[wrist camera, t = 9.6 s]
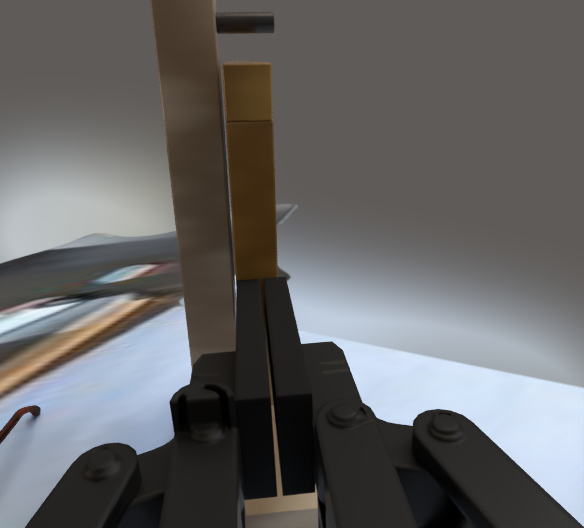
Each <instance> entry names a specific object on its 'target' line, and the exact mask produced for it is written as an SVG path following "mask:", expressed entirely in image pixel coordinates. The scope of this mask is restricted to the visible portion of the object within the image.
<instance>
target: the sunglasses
mask: <svg viewBox="0 0 584 528" xmlns="http://www.w3.org/2000/svg"><path fill="white" fill-rule="evenodd" d="M28 412H30V413H31V414H32V415H34V416H38V415H40V407H38V406H28V407H24V408H21V409H19V410H18V411H17V412H16V413H15V414H14V415H13V416H12V418H11V419H10V420H9V422H8V423H7V424H6V425H5V426H4V428H3V429H2V430H1V431H0V444H1V442H2V441H3V440H4V439H5V438H6V436H7V435H8V434H9V433H10V431H11V430H12V429H13V427H14V426H15V425H16V424H17V422H18V421H19V420H20V418H21V417H22V416H23V415H24V414H26V413H28Z"/></svg>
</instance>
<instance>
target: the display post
mask: <svg viewBox="0 0 584 528" xmlns="http://www.w3.org/2000/svg"><path fill="white" fill-rule="evenodd" d="M150 3H151V11H152V20H153V29H154V38H155V47H156V55H157V64H158V73H159V82H160V90H161V100H162V108H163V117H164V126H165V134H166V144H167V153H168V161H169V170H170V179H171V187H172V197H173V205H174V214H175V223H176V232H177V241H178V250H179V259H180V268H181V276H182V285H183V294H184V303H185V312H186V321H187V329H188V338H189V347H190V356H191V365H192V369H193V364H194V363H195V362H196V361H197V360H198V358H199V357H200V356H201V355H202V354H209V353H220V352H232V351H235V350H236V293H235V278H234V263H233V249H232V234H231V219H230V205H229V190H228V175H227V160H226V145H225V131H224V117H223V102H222V86H221V72H220V57H219V43H218V34H226V33H227V34H229V33H230V34H233V33H234V34H236V33H273V32H274V13H273V12H222V13H221V12H220V13H218V12H217V13H216V0H150ZM271 409H272V424H273V438H274V453H275V467H276V482H277V496H278V497H270V498H261V499H252V500H244V503H245V513H246V528H318V499H317V490H316V484H315V493H306V494H297V495H288V496H283V493H282V483H281V473H280V463H279V453H278V444H277V434H276V424H275V414H274V405H271Z"/></svg>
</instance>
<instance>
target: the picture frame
mask: <svg viewBox="0 0 584 528" xmlns="http://www.w3.org/2000/svg"><path fill="white" fill-rule="evenodd" d="M222 74H223V87H224V88H223V89H224V104H225V119H226V133H227V149H228V164H229V178H230V194H231V208H232V209H231V210H232V225H233V240H234V255H235V270H236V285H237V280H249V279H260V288H261V299H262V309H263V320H264V331H265V342H266V352H267V363H268V374H269V385H270V395H271V405H274V404H273V394H272V384H271V375H270V365H269V355H268V343H267V328H266V314H265V299H264V285H263V278H275V277H278V266H277V235H276V201H275V168H274V138H273V137H274V136H273V121H272V119H273V105H272V74H271V64H270V63H267V62H258V61H228V62H226V63H225V64H223V65H222Z"/></svg>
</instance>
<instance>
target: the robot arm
mask: <svg viewBox="0 0 584 528" xmlns="http://www.w3.org/2000/svg"><path fill="white" fill-rule="evenodd" d="M263 285H264V299H265V314H266V328H267V343H268V355H269V365H270V375H271V384H272V394H273V404H274V414H275V424H276V434H277V444H278V453H279V463H280V473H281V483H282V493H283V496H288V495H297V494H306V493H315V484H316V490H317V499H318V528H584V527H583V526H582V525H581V524H580V523H579V522H578V521H577V520H576V519H575V518H574V517H573V516H572V515H570V514H569V513H568V512H567V511H566V510H565V509H564V508H563V507H562V506H561V505H560V504H559V503H558V502H557V501H556V500H555V499H553V498H552V497H551V496H550V495H549V494H548V493H547V492H546V491H545V490H544V489H543V488H542V487H541V486H540V485H539V484H538V483H537V482H535V481H534V480H533V479H532V478H531V477H530V476H529V475H528V474H527V473H526V472H525V471H524V470H523V469H522V468H521V467H520V466H519V465H517V464H516V463H515V462H514V461H513V460H512V459H511V458H510V457H509V456H508V455H507V454H506V453H505V452H504V451H503V450H502V449H501V448H499V447H498V446H497V445H496V444H495V443H494V442H493V441H492V440H491V439H490V438H489V437H488V436H487V435H486V434H485V433H484V432H483V431H481V430H480V429H479V428H478V427H477V426H476V425H475V424H474V423H473V422H472V421H470V420H469V419H468V418H466V417H465V416H463V415H461V414H458V413H456V412H453V411H449V410H441V409H435V410H427V411H425V412H423V413H421V414H419V415H418V416H417V417H416V418H415V420H414V421H413V426H408V425H401V424H394V423H389V422H386V421H383V420H380V419H378V418H376V416H375V414H374V412H373V411H372V410H371V408H370V407H369V406H367V405H365V404H364V403H362V400H361V398H360V395H359V392H358V390H357V387H356V384H355V382H354V379H353V376H352V374H351V372H350V368H349V366H348V363H347V360H346V358H345V355H344V352H343V350H342V349H341V348H339V347H338V346H337V345H336V344H334V343H333V342H320V343H309V344H301V342H300V338H299V333H298V329H297V324H296V320H295V316H294V311H293V307H292V302H291V298H290V294H289V289H288V285H287V280H286V277H275V278H263ZM170 408H171V414H172V421H173V427H174V433H175V435H174V438H173V439H172V440H171V441H170V442H168V443H166V444H165V445H163V446H161V447H159V448H156V449H154V450H151V451H148V452H145V453H142V454H139V455H137V454H136V451H135V450H134V449H133V448H132V447H130V446H129V445H126V444H122V443H109V444H104V445H100V446H97V447H94V448H92V449H90V450H89V451H87V452H85V453H83V454H82V455H80V456H79V457H78V458H77V459H76V460H75V461H74V462H73V463H72V465H71V466H70V467H69V469H68V470H67V471H66V473H65V474H64V475H63V477H62V478H61V479H60V481H59V482H58V483H57V485H56V486H55V488H54V489H53V490H52V492H51V493H50V494H49V496H48V497H47V498H46V500H45V501H44V502H43V504H42V505H41V506H40V508H39V509H38V510H37V512H36V513H35V514H34V516H33V517H32V518H31V520H30V521H29V523H28V524H27V525H26V527H25V528H246V513H245V503H244V500H252V499H261V498H270V497H278V496H277V482H276V467H275V453H274V438H273V424H272V409H271V395H270V385H269V374H268V363H267V352H266V342H265V331H264V320H263V309H262V299H261V288H260V279H249V280H237V299H236V350H235V351H232V352H220V353H209V354H202V355H201V356H200V357H199V358H198V360H197V361H196V362H195V363H194V364H193V369H192V375H191V381H190V384H189V385H187V386H185V387H182V388H181V389H180V390H178V391H177V392H176V393H175V394H174V395H173V396H172V398H171V400H170Z"/></svg>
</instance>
